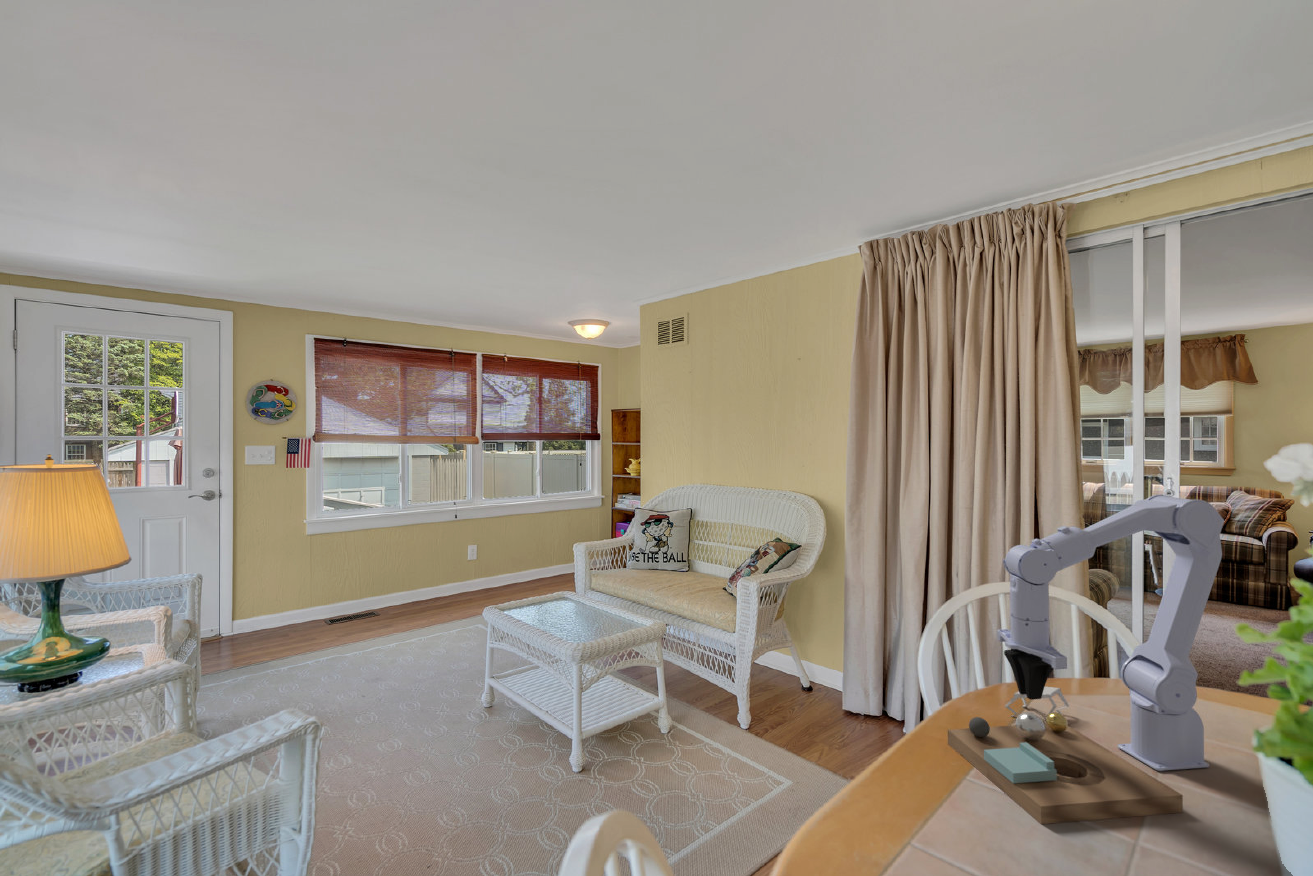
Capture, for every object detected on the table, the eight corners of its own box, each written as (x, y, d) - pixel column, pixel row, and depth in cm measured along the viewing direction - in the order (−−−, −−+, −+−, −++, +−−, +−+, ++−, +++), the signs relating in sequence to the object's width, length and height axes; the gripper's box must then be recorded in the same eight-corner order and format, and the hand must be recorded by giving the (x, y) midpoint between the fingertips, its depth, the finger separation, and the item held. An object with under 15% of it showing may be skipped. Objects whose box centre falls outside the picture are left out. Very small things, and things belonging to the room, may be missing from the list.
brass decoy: (1058, 726, 111) (1058, 708, 111) (1072, 735, 108) (1072, 716, 108) (1041, 727, 111) (1041, 709, 111) (1055, 736, 108) (1055, 717, 108)
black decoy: (982, 731, 110) (982, 713, 110) (993, 740, 106) (993, 721, 106) (965, 732, 109) (964, 714, 109) (976, 741, 106) (976, 722, 106)
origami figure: (1029, 700, 128) (1028, 676, 128) (1071, 716, 121) (1071, 691, 121) (991, 713, 123) (991, 688, 123) (1034, 730, 115) (1034, 704, 115)
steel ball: (1033, 732, 109) (1033, 707, 109) (1051, 744, 105) (1051, 718, 105) (1009, 733, 109) (1009, 708, 109) (1027, 746, 104) (1027, 720, 104)
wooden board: (1062, 736, 113) (1062, 722, 113) (1182, 812, 90) (1182, 795, 90) (947, 743, 110) (947, 729, 110) (1041, 824, 88) (1040, 806, 88)
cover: (1024, 756, 101) (1024, 741, 101) (1056, 780, 94) (1056, 763, 94) (983, 759, 100) (983, 743, 100) (1013, 783, 93) (1013, 766, 93)
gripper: (981, 606, 113) (981, 680, 114) (1037, 631, 99) (1038, 716, 99) (1017, 604, 114) (1017, 678, 114) (1078, 629, 100) (1079, 713, 100)
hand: (1030, 696), depth 107 cm, fingers closed
